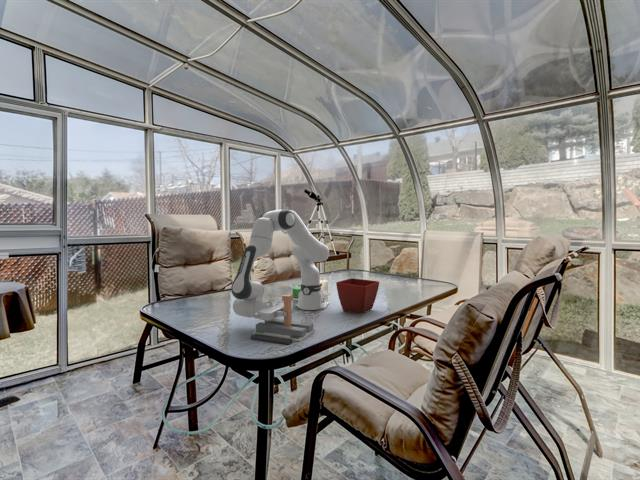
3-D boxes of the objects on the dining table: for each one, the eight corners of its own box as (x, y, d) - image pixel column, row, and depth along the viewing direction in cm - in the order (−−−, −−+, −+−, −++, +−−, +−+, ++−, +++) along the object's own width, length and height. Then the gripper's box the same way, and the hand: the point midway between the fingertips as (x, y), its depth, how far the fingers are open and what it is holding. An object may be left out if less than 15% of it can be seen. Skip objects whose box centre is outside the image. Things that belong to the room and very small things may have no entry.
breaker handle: (286, 328, 164) (286, 294, 163) (293, 329, 162) (293, 294, 162) (282, 330, 160) (282, 295, 159) (289, 331, 159) (289, 296, 158)
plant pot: (379, 309, 205) (380, 281, 204) (365, 316, 189) (365, 286, 188) (351, 304, 215) (351, 277, 214) (335, 311, 200) (335, 282, 199)
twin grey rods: (254, 336, 156) (254, 332, 156) (293, 342, 149) (293, 338, 149) (249, 339, 153) (249, 335, 153) (289, 345, 145) (289, 341, 145)
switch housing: (271, 324, 174) (271, 316, 174) (315, 330, 165) (315, 322, 165) (253, 334, 159) (253, 325, 159) (300, 341, 150) (300, 332, 150)
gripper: (251, 308, 156) (278, 311, 151) (274, 299, 175) (298, 301, 170) (251, 322, 156) (278, 325, 151) (274, 311, 175) (298, 314, 170)
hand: (289, 312), depth 161 cm, fingers closed on breaker handle, 3 cm apart
